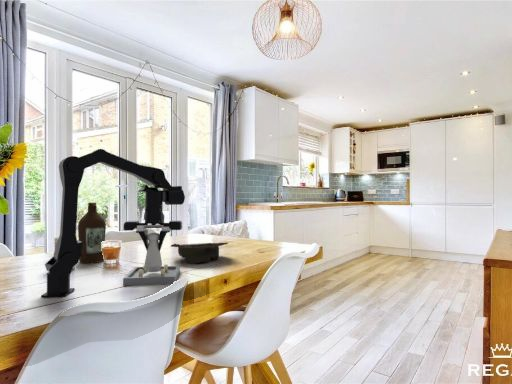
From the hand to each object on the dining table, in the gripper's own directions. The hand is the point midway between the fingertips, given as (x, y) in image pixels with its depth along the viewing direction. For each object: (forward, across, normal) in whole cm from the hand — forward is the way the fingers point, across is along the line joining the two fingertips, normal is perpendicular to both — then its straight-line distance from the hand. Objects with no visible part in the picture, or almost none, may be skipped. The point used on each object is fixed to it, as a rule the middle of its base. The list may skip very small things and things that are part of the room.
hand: (153, 250), depth 112 cm
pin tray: (+9, 0, 0) cm, 9 cm away
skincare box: (+10, +36, -17) cm, 41 cm away
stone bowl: (+10, -14, -30) cm, 35 cm away
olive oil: (+10, +31, -31) cm, 45 cm away
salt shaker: (+7, 0, 0) cm, 7 cm away
